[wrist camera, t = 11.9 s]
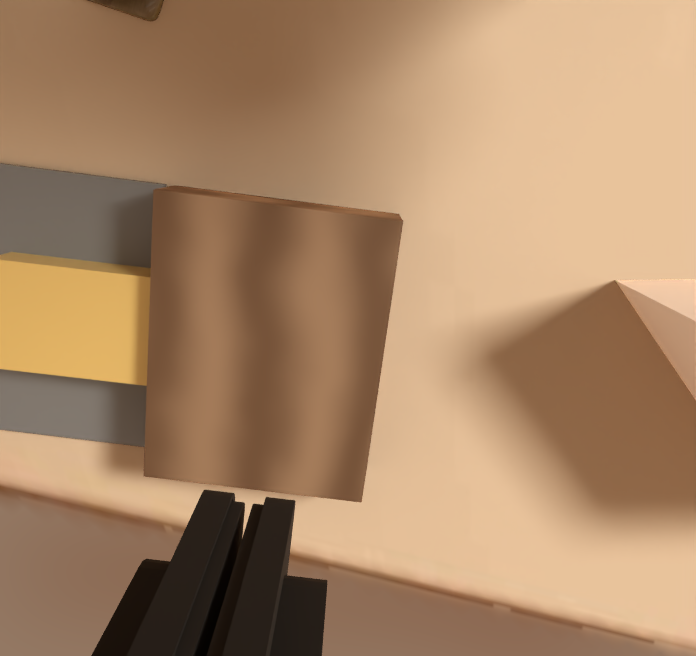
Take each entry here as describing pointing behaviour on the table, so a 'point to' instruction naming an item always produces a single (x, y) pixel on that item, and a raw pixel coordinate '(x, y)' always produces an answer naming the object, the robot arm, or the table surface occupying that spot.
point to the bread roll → (135, 7)
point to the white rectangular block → (668, 320)
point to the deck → (265, 340)
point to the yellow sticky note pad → (74, 318)
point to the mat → (82, 244)
